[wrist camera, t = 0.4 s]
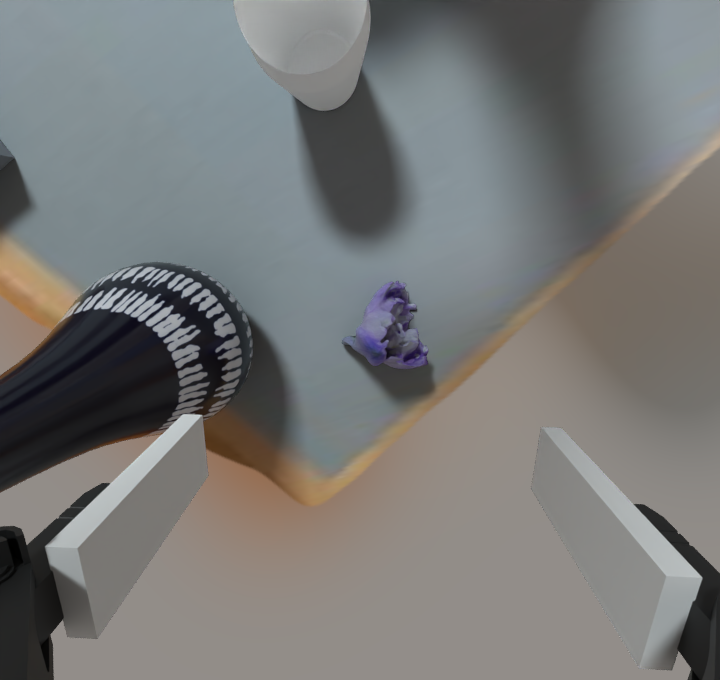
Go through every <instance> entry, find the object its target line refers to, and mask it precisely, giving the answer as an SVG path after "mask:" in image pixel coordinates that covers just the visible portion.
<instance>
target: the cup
mask: <svg viewBox="0 0 720 680" xmlns="http://www.w3.org/2000/svg"><path fill="white" fill-rule="evenodd" d="M233 3H234V9H235V14H236V18H237V21H238V24H239V27H240V29H241V32H242V34H243V36H244V37H245V39H246V41H247V43H248V45H249V47H250V49H251V51H252V53H253V55H254V57H255V59H256V61H257V62H258V64H259V65H260V66H261V68H262V69H263V70H264V71H265V72H266V74H267V75H268V76H269V77H270V78H271V79H273V80H274V81H275V82H276V83H278V84H279V85H280V86H281V87H283V88H284V89H285V90H287V91H288V92H289V93H290V94H292V95H293V96H294V97H296V98H297V99H298V100H300V101H301V102H302V103H304V104H305V105H306V106H308V107H310V108H312V109H315V110H319V111H328V110H333V109H336V108H338V107H340V106H341V105H343V104H344V103H345V102H346V101H347V100H348V99H349V98H350V97H351V95H352V94H353V92H354V90H355V88H356V85H357V82H358V78H359V74H360V70H361V67H362V63H363V59H364V55H365V52H366V48H367V44H368V39H369V33H370V22H371V14H370V4H369V0H233Z"/></svg>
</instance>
